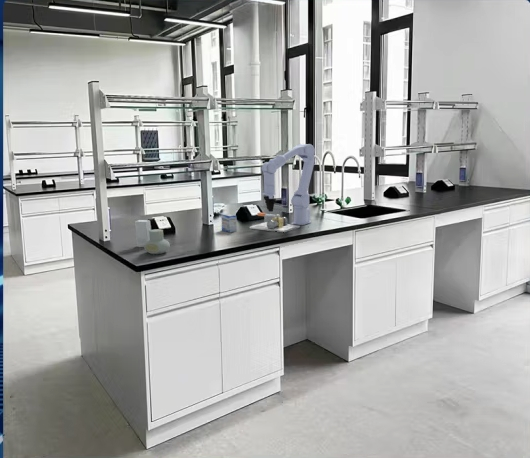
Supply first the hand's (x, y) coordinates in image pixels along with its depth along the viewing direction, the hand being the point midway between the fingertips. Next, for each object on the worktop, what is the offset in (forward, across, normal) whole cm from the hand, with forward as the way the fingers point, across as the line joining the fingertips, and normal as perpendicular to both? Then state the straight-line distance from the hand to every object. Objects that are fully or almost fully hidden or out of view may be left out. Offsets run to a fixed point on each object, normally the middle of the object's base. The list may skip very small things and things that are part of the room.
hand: (269, 210), depth 259 cm
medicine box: (+10, +3, -22) cm, 24 cm away
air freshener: (+10, +46, -54) cm, 72 cm away
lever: (+4, -3, 0) cm, 5 cm away
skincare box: (+10, +32, -62) cm, 71 cm away
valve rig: (+10, 0, +2) cm, 10 cm away
